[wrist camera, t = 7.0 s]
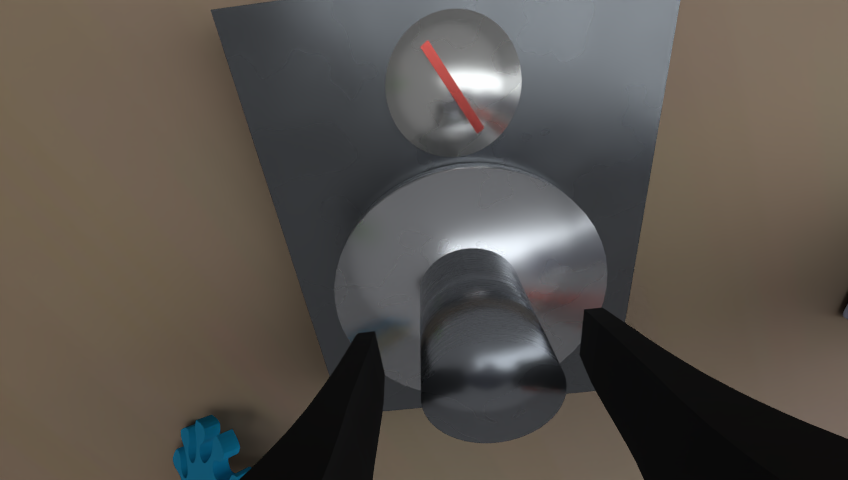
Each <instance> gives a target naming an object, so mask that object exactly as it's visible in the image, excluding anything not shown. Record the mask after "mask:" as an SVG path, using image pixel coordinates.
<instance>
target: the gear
mask: <svg viewBox="0 0 848 480" xmlns="http://www.w3.org/2000/svg"><path fill="white" fill-rule="evenodd" d="M181 438H182V442H183V445H184V446H183V447H180V448H178V449H176V451H175V453H174V457H173V462H174V466H175V468H176V469H177V471H178V473H179V475H180V477H181V480H239V479H240V478H241V477H242V476H243V475H244V474H245V473H246V472H248V471H249V470H250V469H251V468H252V467H247V468H245V469H243V470H241V471H239V472H237V473H236V474H235V473H233V472H232V471H231V469H230V466H229V461H228V458H230V457H232V456H234V455H236V454H238V453H239V450H240V445H239V442H238V439H237V437H236V435H235V433H234V431H233V429H231V430H228V431H226V432H224V433H221V434H220V422H219V421H218V419H217V418H216V417H214V416H213V415H209V416H207V417H204V418H201V419H198V420H196V423H195V424H194V425H191V426H188V427H185V428H183V429H182V430H181Z"/></svg>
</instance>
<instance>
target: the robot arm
mask: <svg viewBox="0 0 848 480" xmlns="http://www.w3.org/2000/svg"><path fill="white" fill-rule="evenodd" d="M843 316H844V318H846V319H848V304H847V306H846V308H845V310H844V312H843ZM579 355H580V357H581V360H582V362H583V365H584V367H585V369H586V372H587V374H588V376H589V379H590V381H591V383H592V385H593V387H594V389H595V390H596V392H597V394H598V396H599V397H600V399H601V401H602V403H603V404H604V406H605V408H606V410H607V411H608V413H609V415H610V416H611V418H612V420H613V422H614V423H615V425H616V427H617V429H618V430H619V432H620V434H621V436H622V437H623V439H624V441H625V442H626V444H627V446H628V448H629V450H630V451H631V453H632V455H633V457H634V459H635V461H636V463H637V465H638V467H639V469H640V472H641V474H642V476H643V478H644V480H848V439H847V438H844V437H841V436H839V435H836V434H834V433H831V432H829V431H826V430H824V429H821V428H819V427H816V426H814V425H811V424H809V423H807V422H804V421H802V420H799V419H797V418H795V417H792V416H790V415H788V414H785V413H783V412H781V411H779V410H777V409H775V408H772V407H770V406H768V405H766V404H764V403H761V402H759V401H757V400H755V399H753V398H751V397H749V396H747V395H745V394H743V393H741V392H739V391H737V390H735V389H733V388H731V387H729V386H727V385H725V384H723V383H721V382H719V381H718V380H716V379H714V378H712V377H710V376H708V375H706V374H705V373H703V372H701V371H699V370H698V369H696V368H694V367H693V366H691V365H689V364H688V363H686V362H684V361H683V360H681V359H679V358H678V357H676V356H674V355H673V354H671V353H670V352H668V351H666V350H665V349H663V348H662V347H660V346H659V345H657V344H656V343H654V342H652V341H651V340H649V339H648V338H646V337H645V336H644V335H642V334H641V333H639V332H638V331H636V330H635V329H633V328H632V327H630V326H629V325H627V324H626V323H625V322H623V321H622V320H620V319H619V318H617V317H616V316H614V315H613V314H612V313H610V312H609V311H607V310H606V309H604V308H592V309H584V316H583V325H582V335H581V344H580V354H579ZM384 385H385V373H384V368H383V364H382V360H381V355H380V351H379V346H378V342H377V338H376V333H375V331H373V332H363V333H357V335H356V336H355V337H354V339H353V341H352V342H351V344H350V346H349V347H348V349H347V351H346V352H345V354H344V356H343V357H342V359H341V360H340V362H339V364H338V365H337V367H336V368H335V370H334V371H333V373H332V374H331V376H330V377H329V379H328V380H327V382H326V383H325V384H324V386H323V387H322V389H321V390H320V391H319V393H318V394H317V395H316V397H315V398H314V399H313V401H312V402H311V403H310V405H309V406H308V407H307V408H306V410H305V411H304V412H303V413H302V415H301V416H300V417H299V418H298V419H297V421H296V422H295V423H294V424H293V425H292V426H291V428H290V429H289V430H288V431H287V432H286V433H285V434H284V435H283V436H282V438H281V439H280V440H279V441H278V442H277V443H276V444H275V445H274V446H273V447H272V448H271V449H270V450H269V451H268V452H267V453H266V454H265V455H264V456H263V457H262V458H261V459H260V460H259V461H258V462H257V463H256V464H255V465H254V466H253V467H252V468H251V469H250V470H249V471H248V472H246V473H245V474H244V475H243V476H242V477H241V478H240V479H239V480H373V471H374V465H375V458H376V451H377V445H378V438H379V432H380V425H381V418H382V412H383V405H384Z"/></svg>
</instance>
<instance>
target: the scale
mask: <svg viewBox="0 0 848 480" xmlns="http://www.w3.org/2000/svg"><path fill="white" fill-rule="evenodd" d="M679 4H680V0H279V1H272V2H264V3H257V4H250V5H243V6H236V7H228V8H221V9H214V10H211V12H212V15H213V19H214V22H215V25H216V28H217V31H218V34H219V37H220V40H221V43H222V46H223V49H224V52H225V55H226V59H227V62H228V65H229V68H230V71H231V74H232V77H233V80H234V83H235V86H236V89H237V92H238V95H239V99H240V102H241V105H242V108H243V111H244V114H245V117H246V120H247V123H248V126H249V129H250V132H251V135H252V139H253V142H254V145H255V148H256V151H257V154H258V157H259V160H260V163H261V166H262V169H263V172H264V175H265V178H266V182H267V185H268V188H269V191H270V194H271V197H272V200H273V203H274V206H275V209H276V212H277V215H278V218H279V222H280V225H281V228H282V231H283V234H284V237H285V240H286V243H287V246H288V249H289V252H290V255H291V258H292V262H293V265H294V268H295V271H296V274H297V277H298V280H299V283H300V286H301V289H302V292H303V295H304V298H305V302H306V305H307V308H308V311H309V314H310V317H311V320H312V323H313V326H314V329H315V332H316V335H317V338H318V341H319V345H320V348H321V351H322V354H323V357H324V360H325V363H326V366H327V369H328V372H329V375H330V376H331V374H332V373H333V371H334V370H335V368H336V367H337V365H338V364H339V362H340V360H341V359H342V357H343V356H344V354H345V352H346V351H347V349H348V347H349V346H350V344H351V342H352V341H353V339H354V337H355V336H356V335H357V333H363V332H373V331H375V333H376V338H377V342H378V346H379V351H380V355H381V360H382V364H383V368H384V373H385V385H384V405H383V411H392V410H402V409H413V408H422V404H421V361H420V285H421V282H422V279H423V277H424V275H425V273H426V271H427V270H428V268H429V267H430V266H431V265H432V264H433V263H434V262H435V261H437V260H438V259H439V258H441V257H442V256H444V255H446V254H448V253H450V252H453V251H456V250H460V249H467V248H479V249H485V250H489V251H492V252H495V253H497V254H499V255H501V256H502V257H503V258H505V259H506V260H507V261H508V262H509V263H510V264H511V265H512V266H513V268H514V270H515V271H516V273H517V275H518V277H519V280H520V282H521V284H522V286H523V288H524V290H525V292H526V294H527V296H528V298H529V301H530V303H531V305H532V307H533V309H534V311H535V313H536V315H537V317H538V320H539V322H540V324H541V326H542V328H543V330H544V332H545V334H546V336H547V338H548V341H549V343H550V345H551V347H552V349H553V351H554V353H555V355H556V357H557V359H558V362H559V364H560V366H561V368H562V370H563V372H564V375H565V378H566V385H567V387H566V394H568V393H578V392H588V391H596V390H595V389H594V387H593V385H592V383H591V381H590V379H589V376H588V374H587V372H586V369H585V367H584V365H583V362H582V360H581V357H580V355H579V354H580V344H581V335H582V325H583V316H584V309H592V308H604V309H606V310H607V311H609V312H610V313H612V314H613V315H614V316H616V317H617V318H619V319H620V320H622V321H623V322H625V319H626V313H627V307H628V301H629V295H630V289H631V284H632V278H633V272H634V266H635V260H636V255H637V249H638V243H639V237H640V231H641V225H642V220H643V214H644V208H645V202H646V196H647V191H648V185H649V179H650V173H651V167H652V162H653V156H654V150H655V144H656V138H657V132H658V127H659V121H660V115H661V109H662V103H663V98H664V92H665V86H666V80H667V74H668V68H669V63H670V57H671V51H672V45H673V39H674V34H675V28H676V22H677V16H678V10H679Z"/></svg>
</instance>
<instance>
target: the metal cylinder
mask: <svg viewBox="0 0 848 480" xmlns="http://www.w3.org/2000/svg"><path fill="white" fill-rule="evenodd" d="M420 361H421V404H422V408H423V411H424V413H425V415H426V417H427V418H428V420H429V421H430V422H431V423H432V424H433V425H434V426H435V427H436V428H437V429H439V430H440V431H442V432H443V433H445V434H447V435H449V436H451V437H454V438H457V439H460V440H464V441H468V442H474V443H497V442H504V441H509V440H513V439H517V438H520V437H522V436H525V435H527V434H529V433H532V432H534V431H535V430H537V429H539V428H540V427H542V426H543V425H545V424H546V423H547V422H548V421H549V420H550V419H552V418H553V416H554V415H555V414H556V413H557V412H558V410H559V409H560V407H561V406H562V403H563V401H564V399H565V395H566V387H567V385H566V378H565V375H564V372H563V370H562V368H561V366H560V364H559V362H558V359H557V357H556V355H555V353H554V351H553V349H552V347H551V345H550V343H549V341H548V338H547V336H546V334H545V332H544V330H543V328H542V326H541V324H540V322H539V320H538V317H537V315H536V313H535V311H534V309H533V307H532V305H531V303H530V301H529V298H528V296H527V294H526V292H525V290H524V288H523V286H522V284H521V282H520V280H519V277H518V275H517V273H516V271H515V270H514V268H513V266H512V265H511V264H510V263H509V262H508V261H507V260H506V259H505V258H503V257H502V256H501V255H499V254H497V253H495V252H492V251H489V250H485V249H479V248H467V249H460V250H456V251H453V252H450V253H448V254H446V255H444V256H442V257H441V258H439V259H438V260H437V261H435V262H434V263H433V264H432V265H431V266H430V267H429V268H428V270H427V271H426V273H425V275H424V277H423V279H422V282H421V285H420Z"/></svg>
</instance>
